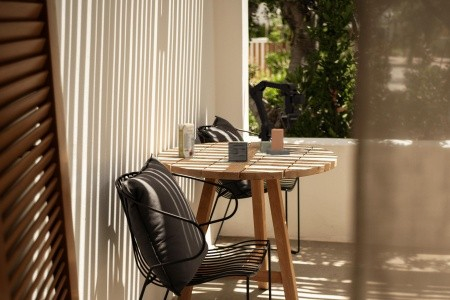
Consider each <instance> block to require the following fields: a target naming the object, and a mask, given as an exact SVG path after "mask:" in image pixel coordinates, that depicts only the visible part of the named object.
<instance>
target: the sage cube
mask: <svg viewBox="0 0 450 300" xmlns="http://www.w3.org/2000/svg"><path fill="white" fill-rule="evenodd" d="M258 149H259V150H258V151H259V152H260V153H266V149H271V141H270V142H269V141H261V140H260V141H259V142H258Z"/></svg>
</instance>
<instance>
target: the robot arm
mask: <svg viewBox="0 0 450 300" xmlns="http://www.w3.org/2000/svg"><path fill="white" fill-rule="evenodd" d="M267 88H270V89H275V90H279V91H281V92H283V93H282V94H280V96H281V97H283V105H282V107H283V111H280V112H279V113H278V117H279V118H280V120H281V122H282V124H283V127H284V129H289V130H290V131H293V128H294V125H295V122H296V121H297V120H298V119H299V117H300V116H302V114H303V112H304V111H303V110H301V109H300V108H299V107H297V106H295V105H305V103H306V97H305V94H304V93H303V92H299V90H297V87H296V85H295V83H293V82H284V83H283V82H276V81H271V80H267V79H266V80H265V79H262V80H260V81H259V82H258V83H257V84H255V85H253V87H250V89H249V90H248V93H249V96H250V98H251V99H252V100H253V102H254V103H255V107H256V109H257V113H258V116H259V120H260V123H261V125H260V133H258V134H257V137H258V139H260V142H261V141H269V142H271V135H272V129H276V128H275V124H274V122H271V121H270V120H269V117H268V113H267V110H266V107H265V104H264V99H263V98H264V92H265V91H266V89H267ZM288 127H289V128H288Z"/></svg>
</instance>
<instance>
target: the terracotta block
mask: <svg viewBox="0 0 450 300" xmlns="http://www.w3.org/2000/svg"><path fill="white" fill-rule="evenodd" d="M284 129H285V128H275V129H272V135H271V138H270V142H271V150H283V148H284Z"/></svg>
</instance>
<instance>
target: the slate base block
mask: <svg viewBox="0 0 450 300" xmlns="http://www.w3.org/2000/svg"><path fill="white" fill-rule="evenodd" d="M265 153H266V154H268V155H269V156H288V155H289V156H290V155H291V150H289V149H286V148H284V147H283V150H271V149H266V152H265Z"/></svg>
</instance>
